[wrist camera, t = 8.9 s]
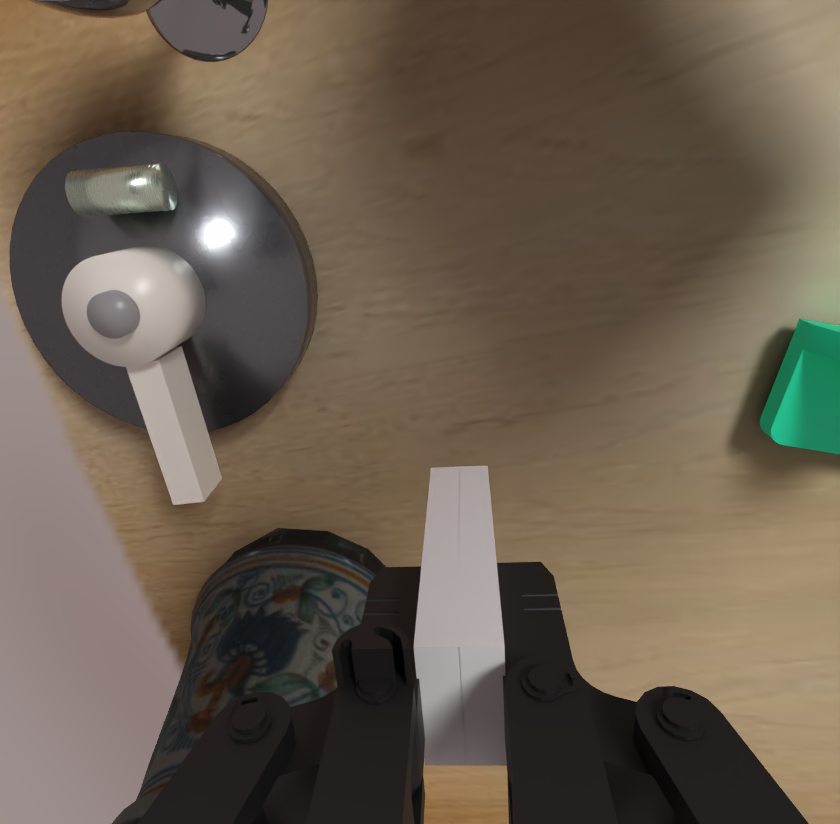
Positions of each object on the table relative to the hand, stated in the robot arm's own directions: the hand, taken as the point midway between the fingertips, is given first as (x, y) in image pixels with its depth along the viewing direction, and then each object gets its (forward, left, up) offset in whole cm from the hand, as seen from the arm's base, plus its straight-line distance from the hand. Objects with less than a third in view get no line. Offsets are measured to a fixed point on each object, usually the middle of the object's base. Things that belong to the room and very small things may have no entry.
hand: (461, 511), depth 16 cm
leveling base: (-3, -18, -24) cm, 30 cm away
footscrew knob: (+1, -18, -21) cm, 27 cm away
